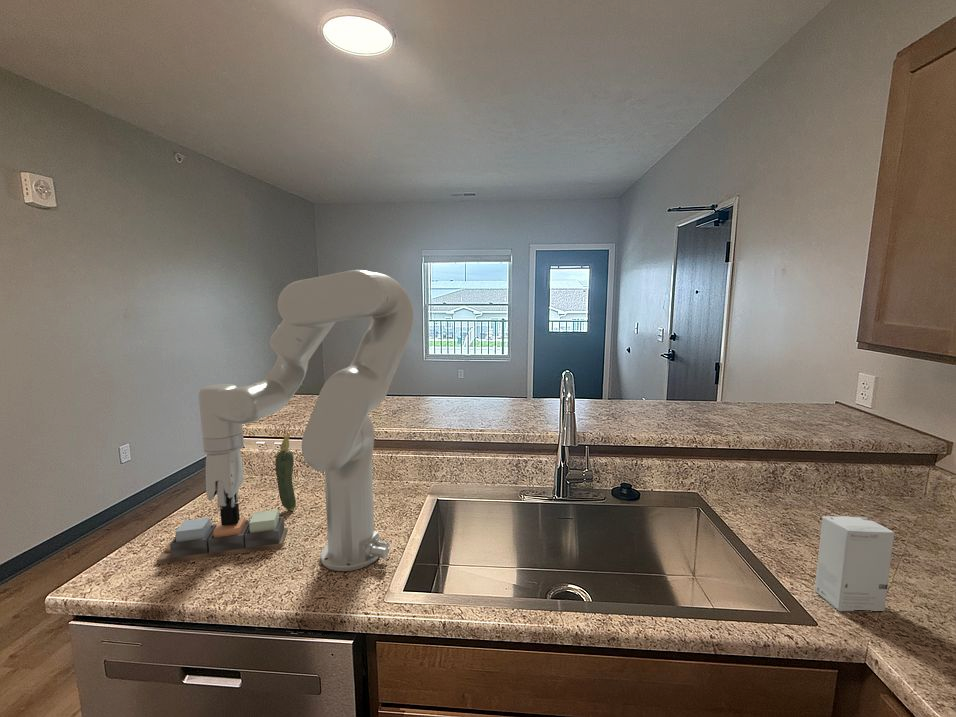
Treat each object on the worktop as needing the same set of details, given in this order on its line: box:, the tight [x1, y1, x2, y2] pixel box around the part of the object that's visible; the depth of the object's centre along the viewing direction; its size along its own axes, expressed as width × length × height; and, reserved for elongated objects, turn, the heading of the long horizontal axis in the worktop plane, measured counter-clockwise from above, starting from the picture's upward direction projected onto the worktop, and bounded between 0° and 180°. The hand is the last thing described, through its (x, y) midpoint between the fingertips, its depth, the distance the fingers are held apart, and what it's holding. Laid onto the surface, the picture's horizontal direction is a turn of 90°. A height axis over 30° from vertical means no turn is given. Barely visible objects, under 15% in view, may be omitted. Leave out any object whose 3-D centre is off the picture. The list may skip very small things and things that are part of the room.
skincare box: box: [814, 515, 895, 612], centre depth 77 cm, size 8×6×15 cm
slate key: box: [174, 516, 212, 542], centre depth 94 cm, size 5×5×4 cm
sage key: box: [249, 509, 280, 533], centre depth 97 cm, size 5×5×4 cm
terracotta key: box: [213, 516, 247, 538], centre depth 95 cm, size 5×5×4 cm
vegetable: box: [274, 434, 297, 511], centre depth 111 cm, size 4×4×20 cm
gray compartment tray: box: [155, 515, 289, 565], centre depth 95 cm, size 24×7×4 cm, turn 105°
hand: (230, 522), depth 95 cm, fingers closed
